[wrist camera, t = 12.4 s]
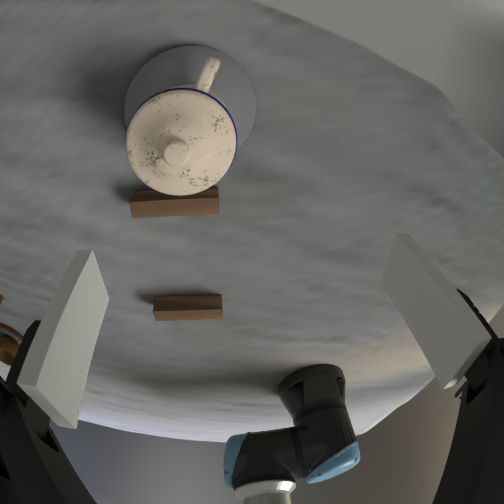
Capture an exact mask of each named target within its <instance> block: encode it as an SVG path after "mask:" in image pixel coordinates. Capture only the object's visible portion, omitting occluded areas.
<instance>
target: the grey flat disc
mask: <svg viewBox="0 0 504 504" xmlns="http://www.w3.org/2000/svg"><path fill="white" fill-rule="evenodd" d="M208 57H214V58H217V59H219V60H220V65H219V68H218V70H217V72H216V75H215V77H214V79H213V82H212V84H211V86H210V90H212V91H213V92H215V93H216V94H217V95H218V96H219V97H220V98H221V99H222V100H223V102H224V103H225V105H226V107H227V110H228V112H229V113H230V115H231V117H232V119H233V121H234V123H235V127H236V131H237V150H238V149H239V148H240V147H241V146H242V145H243V143H244V142H245V141H246V139H247V138H248V136H249V134H250V132H251V130H252V127H253V125H254V121H255V116H256V96H255V91H254V88H253V85H252V83H251V81H250V79H249V77H248V75H247V74H246V72H245V71H244V69H243V68H242V67H241V66H240V65H239V64H238V63H237V62H236V61H235V60H233V59H232V58H231V57H229V56H228V55H226V54H224V53H222V52H220V51H218V50H215V49H212V48H208V47H203V46H182V47H177V48H173V49H170V50H167V51H165V52H162V53H161V54H159V55H157V56H155V57H154V58H152V59H151V60H150V61H148V62H147V63H146V64H145V65H144V66H143V67H142V68H141V69H140V70H139V71H138V73H137V74H136V75H135V77H134V78H133V80H132V82H131V84H130V86H129V88H128V91H127V94H126V98H125V104H124V117H125V124H126V127H128V124H129V122H130V119H131V117H132V116H133V114H134V113H135V111H136V110H137V109H138V107H139V106H140V105H141V104H142V103H143V102H145V101H146V100H147V99H148V98H150V97H151V96H153V95H155V94H157V93H159V92H162V91H164V90H168V89H171V88H173V87H176V86H180V85H185V84H194V85H195V83H196V80H197V78H198V76H199V73H200V71H201V69H202V66H203V64H204V62H205V60H206V59H207V58H208ZM237 150H236V151H237Z"/></svg>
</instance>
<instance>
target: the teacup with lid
mask: <svg viewBox="0 0 504 504" xmlns="http://www.w3.org/2000/svg"><path fill="white" fill-rule="evenodd" d="M219 65H220V60H219V59H217V58H214V57H208V58H207V59H206V60H205V62H204V64H203V66H202V69H201V71H200V73H199V76H198V78H197V80H196V83H195V85H194V84H185V85H180V86H176V87H173V88H171V89H168V90H164V91H162V92H159V93H157V94H155V95H153V96H151V97H150V98H148V99H147V100H146V101H145V102H143V103H142V104H141V105H140V106H139V107H138V109H137V110H136V111H135V113H134V114H133V116H132V117H131V119H130V122H129V124H128V127H127V131H126V136H125V149H126V154H127V158H128V161H129V164H130V166H131V168H132V170H133V171H134V173H135V174H136V175H137V176H138V178H139V179H140V180H141V181H142V182H144V183H145V184H146V185H148V186H149V187H151V188H152V189H154V190H156V191H159V192H161V193H165V194H169V195H178V196H179V195H190V194H195V193H198V192H201V191H203V190H205V189H207V188H209V187H211V186H212V185H214V184H215V183H217V182H218V181H219V180H220V179H221V178H222V177H223V176H224V175H225V174H226V172H227V171H228V170H229V168H230V166H231V164H232V162H233V160H234V157H235V154H236V150H237V131H236V127H235V123H234V121H233V119H232V117H231V115H230V113H229V112H228V110H227V107H226V105H225V103H224V102H223V100H222V99H221V98H220V97H219V96H218V95H217V94H216V93H215V92H213V91H212V90H210V86H211V84H212V82H213V79H214V77H215V75H216V72H217V70H218V68H219Z"/></svg>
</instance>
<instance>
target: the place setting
mask: <svg viewBox="0 0 504 504" xmlns="http://www.w3.org/2000/svg"><path fill="white" fill-rule="evenodd" d="M3 299H4V297H3V296H2V295H0V304H1V302H2V300H3ZM0 329H3V330H6V331H8V332H9V333H11V334H13V335H14V336H16V337H17V338H18V339H19V340H21V341H22V339H23V337H22V336H21V335H20V334H19V333H18V332H16V331H15V330H13V329H12V328H10V327H8V326H5V325H2V324H0ZM18 348H19V346H18V343H17V342H16V341H15V340H14V339H13V338H11V337H9V336H1V337H0V361H2V362H3V363H5V364H7V365H9V366H12V363H13V361H14V358H15V356H16V353H17V352H18Z"/></svg>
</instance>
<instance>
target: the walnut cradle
mask: <svg viewBox="0 0 504 504" xmlns="http://www.w3.org/2000/svg"><path fill="white" fill-rule="evenodd" d="M129 203H130V209H131V215H132V218H145V217H162V216H182V215H205V214H219V193H218V187H209V188H207V189H205V190H203V191H201V192H198V193H195V194H190V195H179V196H178V195H169V194H165V193H161V192H159V191H156V190H148V191H135V193H134V195H133V197H132V199H131V200H130V202H129ZM153 314H154V318H155V321H169V320H204V319H223V311H222V295H202V296H172V297H155V301H154V307H153Z"/></svg>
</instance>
